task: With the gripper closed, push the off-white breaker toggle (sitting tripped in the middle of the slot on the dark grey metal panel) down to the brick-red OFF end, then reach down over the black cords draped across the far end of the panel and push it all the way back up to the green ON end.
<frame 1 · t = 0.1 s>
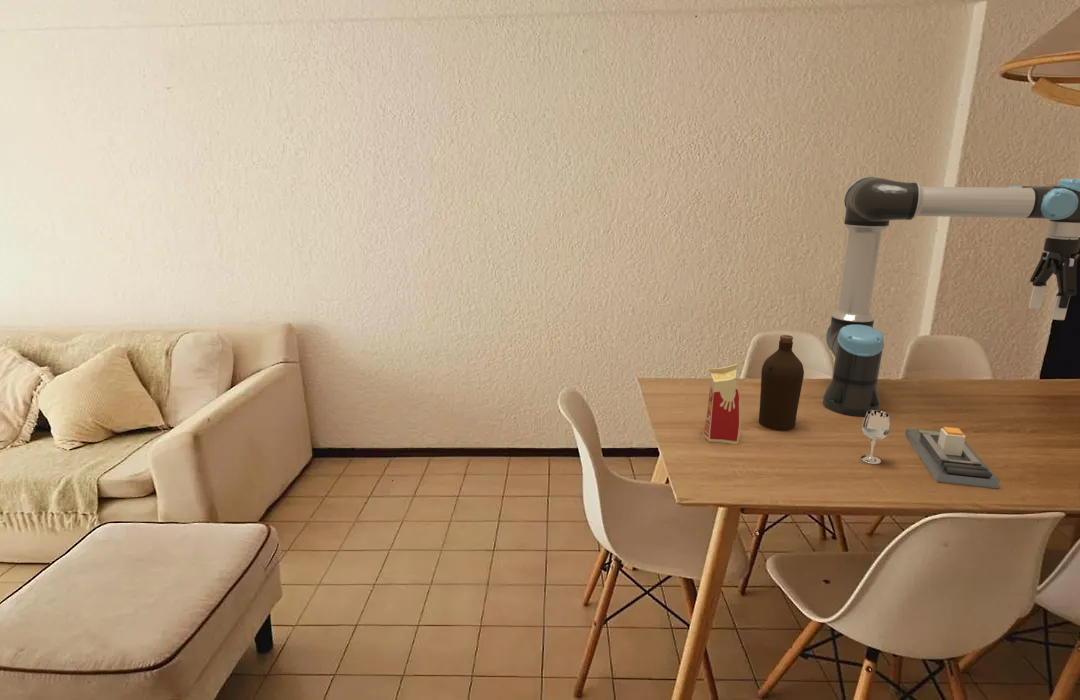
hand: (1045, 313, 177), 28 cm above the table, fingers open, 13 cm apart
cords: (965, 472, 142), resting on panel
olive oil: (776, 424, 173), on the table
toggle: (951, 440, 151), point 5 cm above the table, slide at 5.0 cm
panel: (947, 459, 152), on the table
wineglass: (870, 460, 152), on the table
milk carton: (720, 436, 166), on the table
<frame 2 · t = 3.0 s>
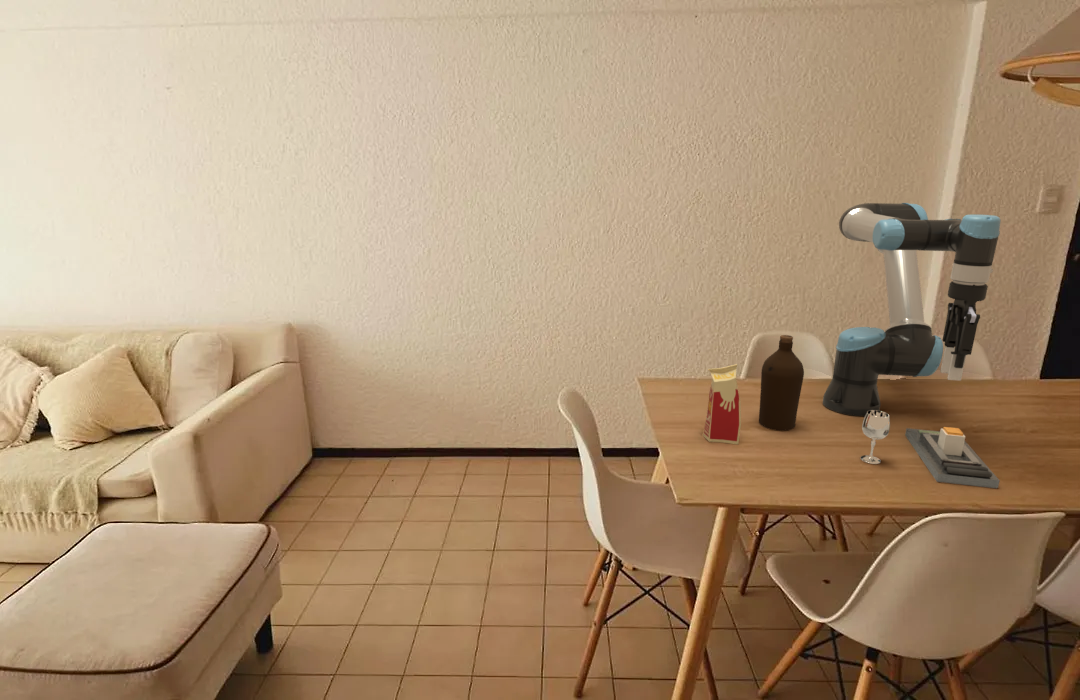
hand: (950, 376, 154), 19 cm above the table, fingers open, 4 cm apart
nothing on the table moved.
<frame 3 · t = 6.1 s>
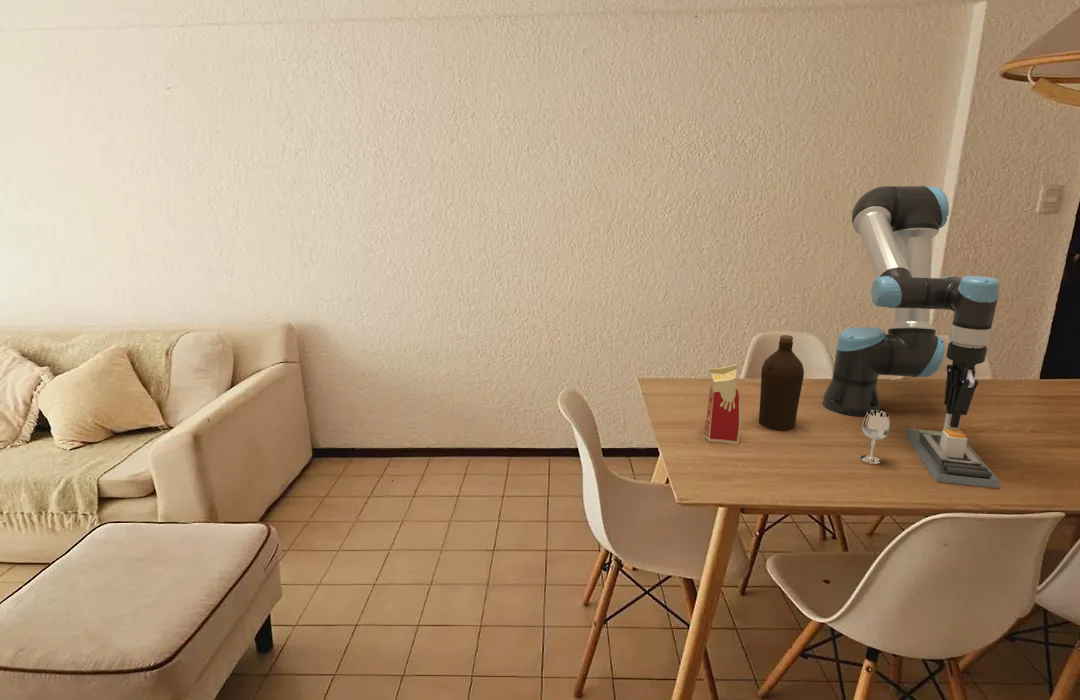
hand: (949, 437, 152), 5 cm above the table, fingers closed
toggle: (952, 443, 150), point 5 cm above the table, slide at 6.3 cm, touching gripper
everything else where it was.
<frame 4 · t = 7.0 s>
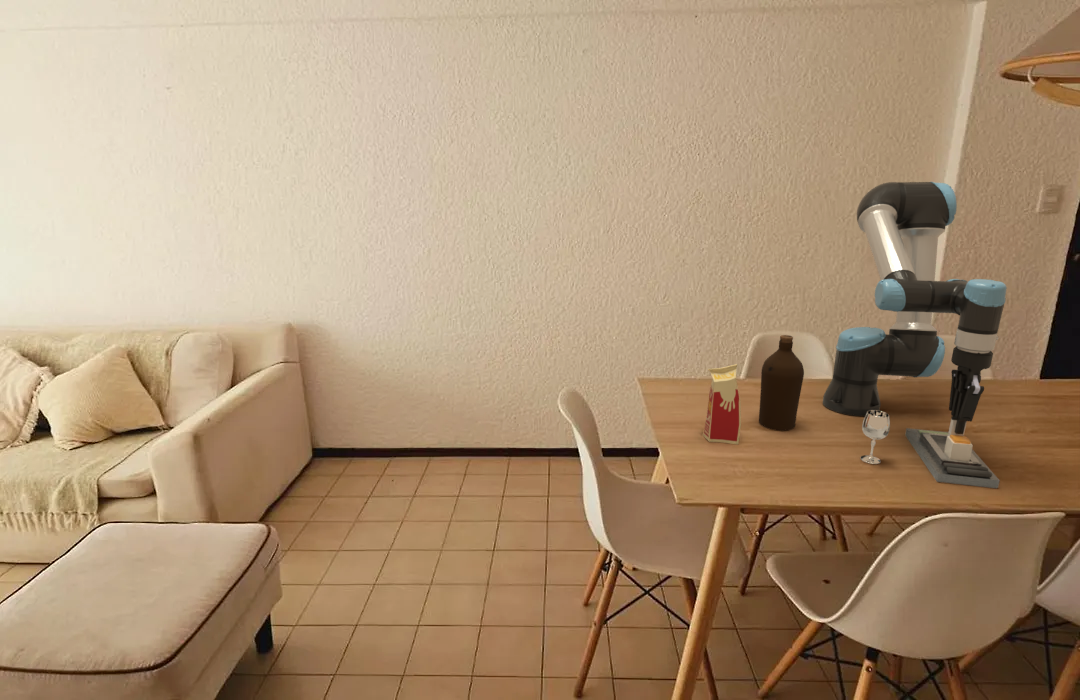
hand: (954, 444, 149), 5 cm above the table, fingers closed
toggle: (958, 449, 147), point 5 cm above the table, slide at 9.7 cm, touching gripper
everything else where it was.
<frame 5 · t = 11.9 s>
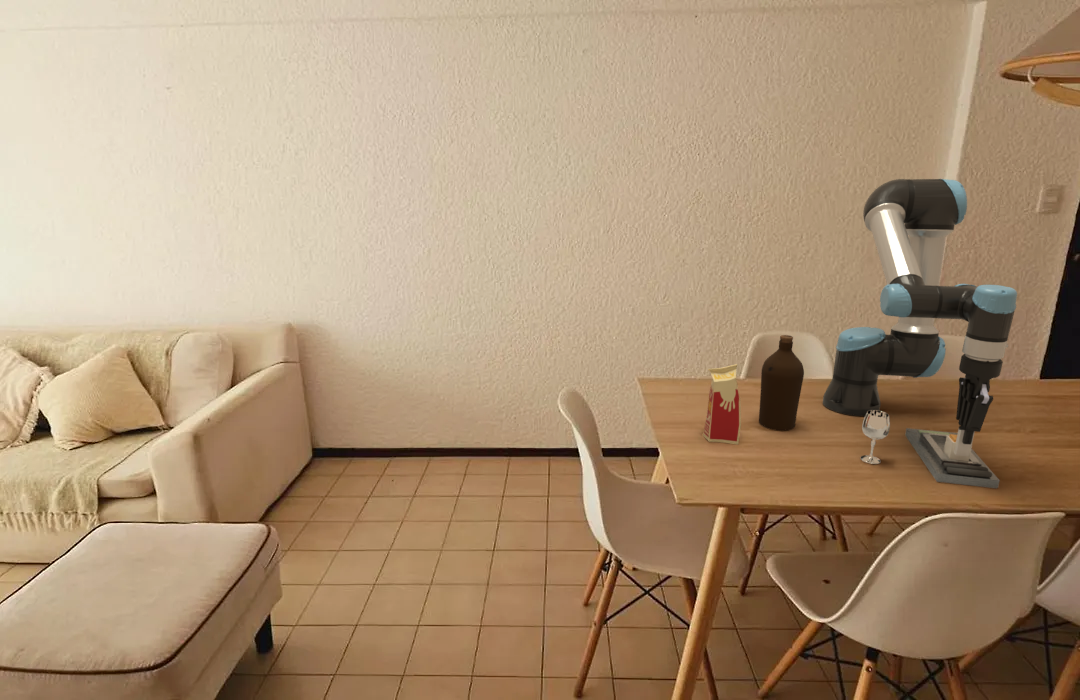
hand: (961, 454, 144), 5 cm above the table, fingers closed
toggle: (957, 448, 147), point 5 cm above the table, slide at 9.3 cm, touching gripper
everything else where it was.
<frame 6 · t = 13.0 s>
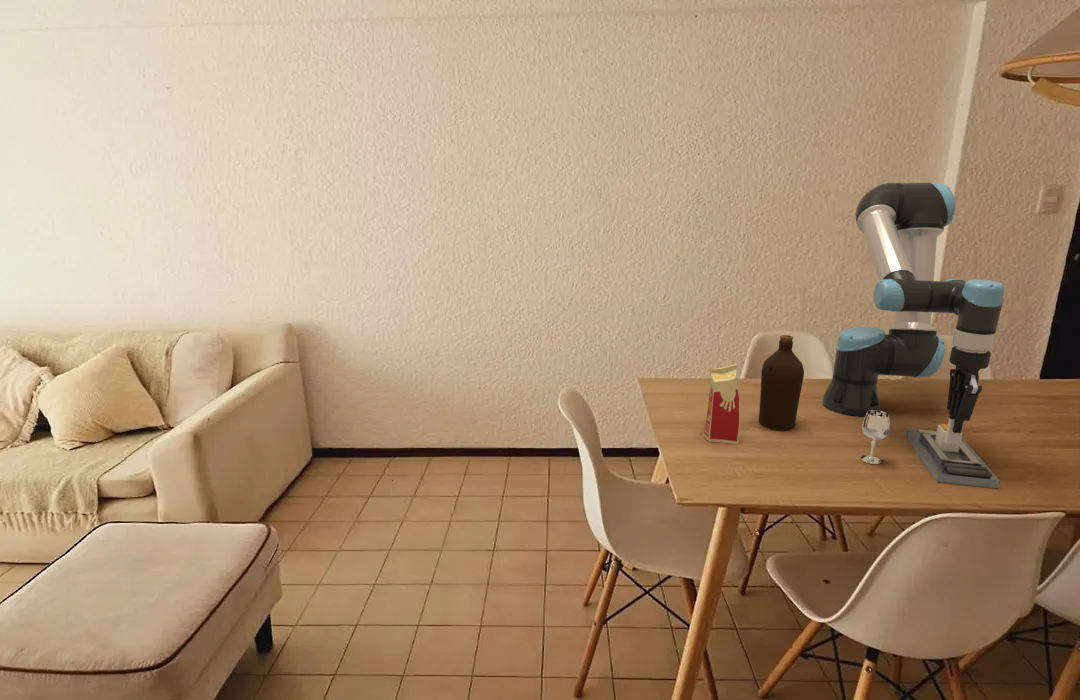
hand: (952, 442, 150), 5 cm above the table, fingers closed
toggle: (948, 437, 153), point 5 cm above the table, slide at 3.0 cm, touching gripper
everything else where it was.
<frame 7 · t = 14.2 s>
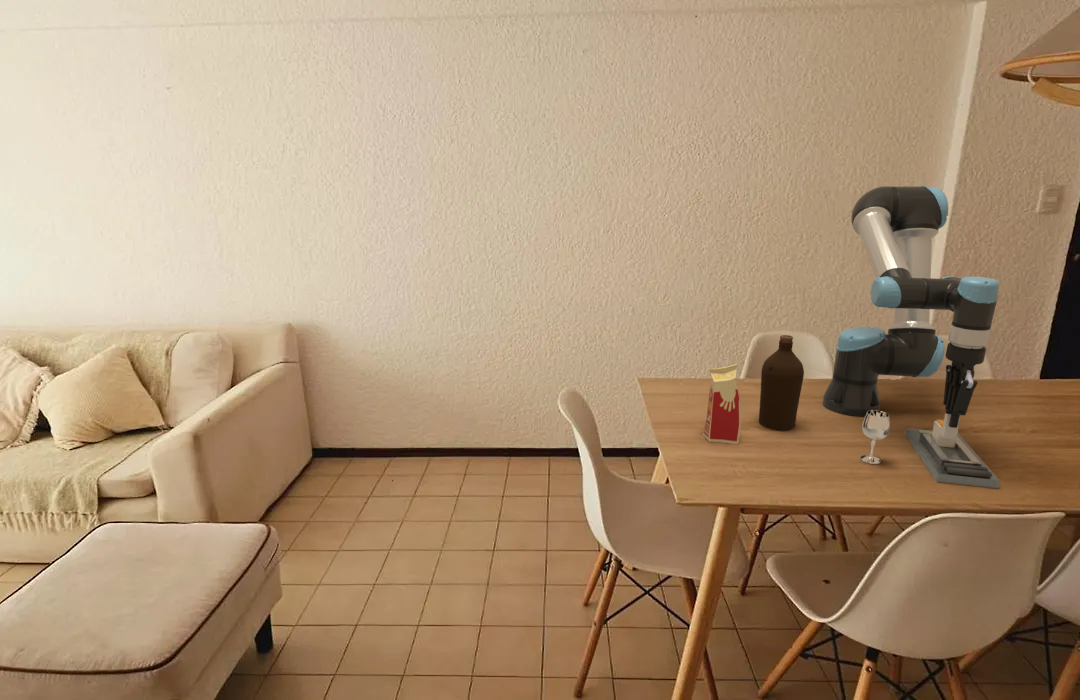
hand: (948, 437, 153), 5 cm above the table, fingers closed
toggle: (944, 433, 155), point 5 cm above the table, slide at 0.3 cm, touching gripper
everything else where it was.
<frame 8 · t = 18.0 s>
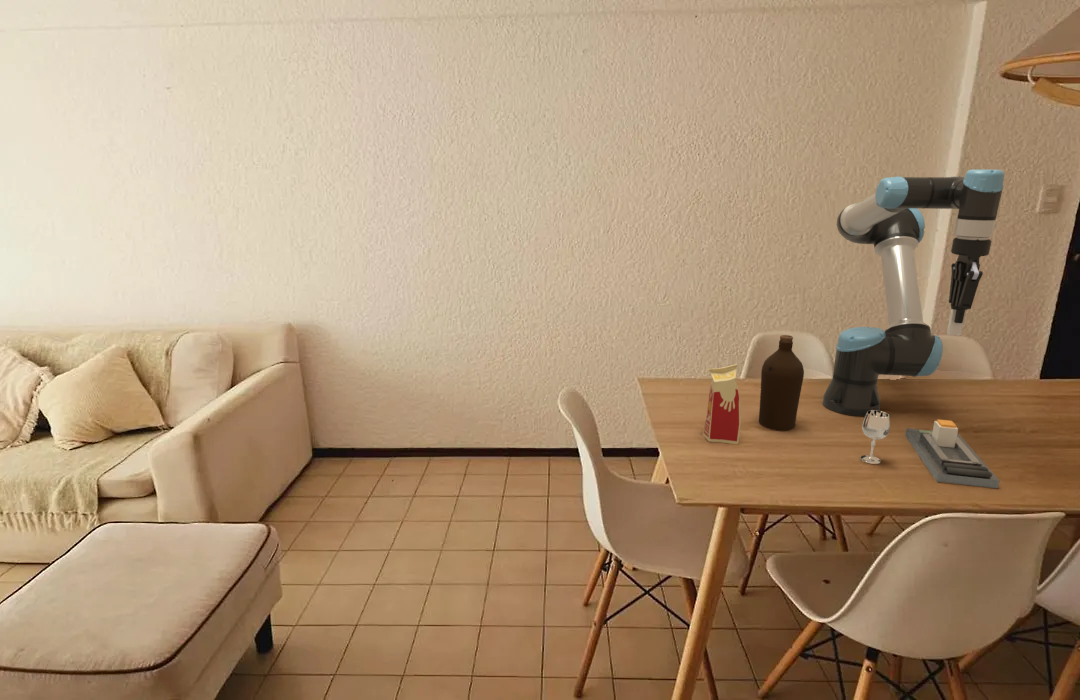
hand: (953, 334, 154), 28 cm above the table, fingers closed
toggle: (944, 433, 155), point 5 cm above the table, slide at 0.3 cm
everything else where it was.
at the end: toggle slide at 0.3 cm; toggle touching nothing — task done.
